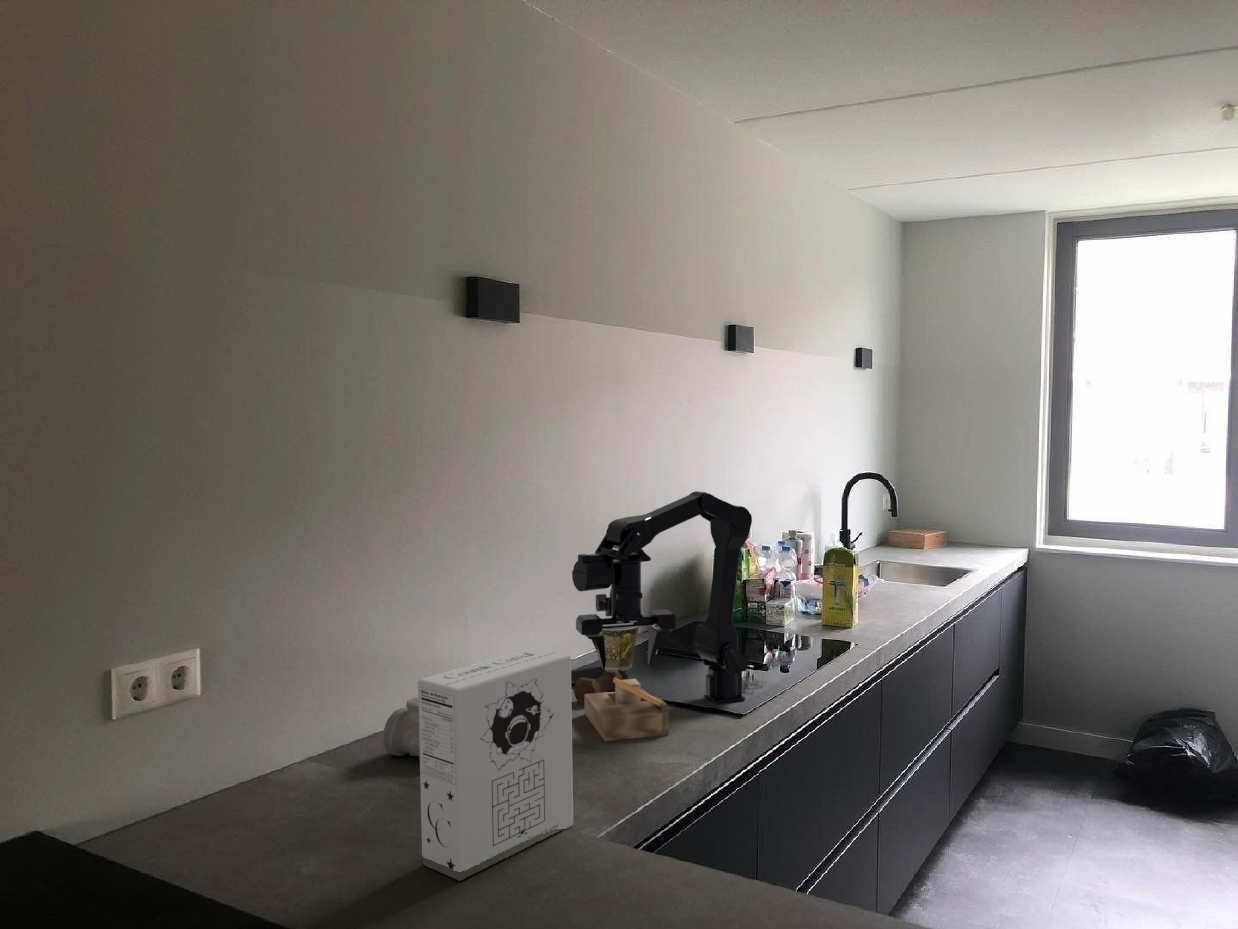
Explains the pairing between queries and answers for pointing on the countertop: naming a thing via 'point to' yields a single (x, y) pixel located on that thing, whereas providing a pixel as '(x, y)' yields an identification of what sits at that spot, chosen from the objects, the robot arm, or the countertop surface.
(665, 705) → the block
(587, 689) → the bolt
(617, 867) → the countertop surface
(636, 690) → the gate
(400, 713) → the pipe fitting
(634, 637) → the ceramic cup
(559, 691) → the cereal box
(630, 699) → the peg
